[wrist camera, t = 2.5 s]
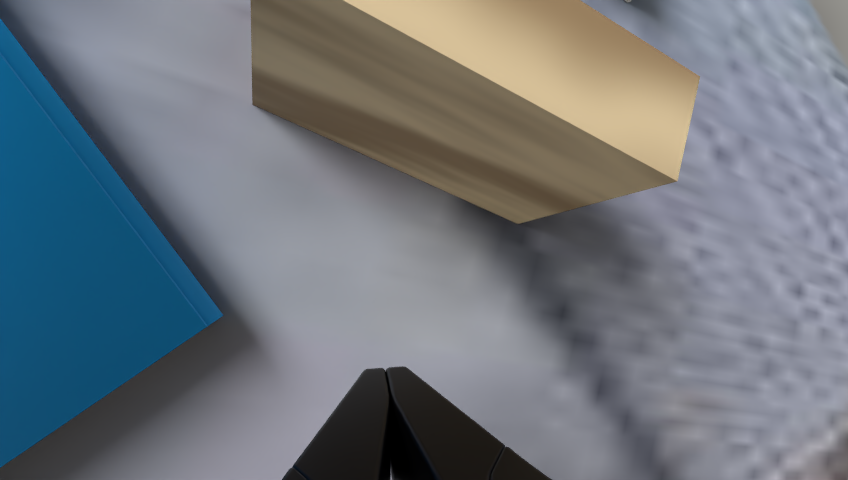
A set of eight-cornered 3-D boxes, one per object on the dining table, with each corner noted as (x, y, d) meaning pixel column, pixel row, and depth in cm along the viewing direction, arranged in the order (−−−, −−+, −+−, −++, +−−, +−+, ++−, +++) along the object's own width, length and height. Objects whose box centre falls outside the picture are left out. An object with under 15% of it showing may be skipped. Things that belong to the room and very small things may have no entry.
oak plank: (516, 224, 25) (677, 181, 15) (252, 105, 21) (249, -51, 11) (536, 156, 25) (699, 76, 16) (286, 30, 22) (310, -172, 12)
